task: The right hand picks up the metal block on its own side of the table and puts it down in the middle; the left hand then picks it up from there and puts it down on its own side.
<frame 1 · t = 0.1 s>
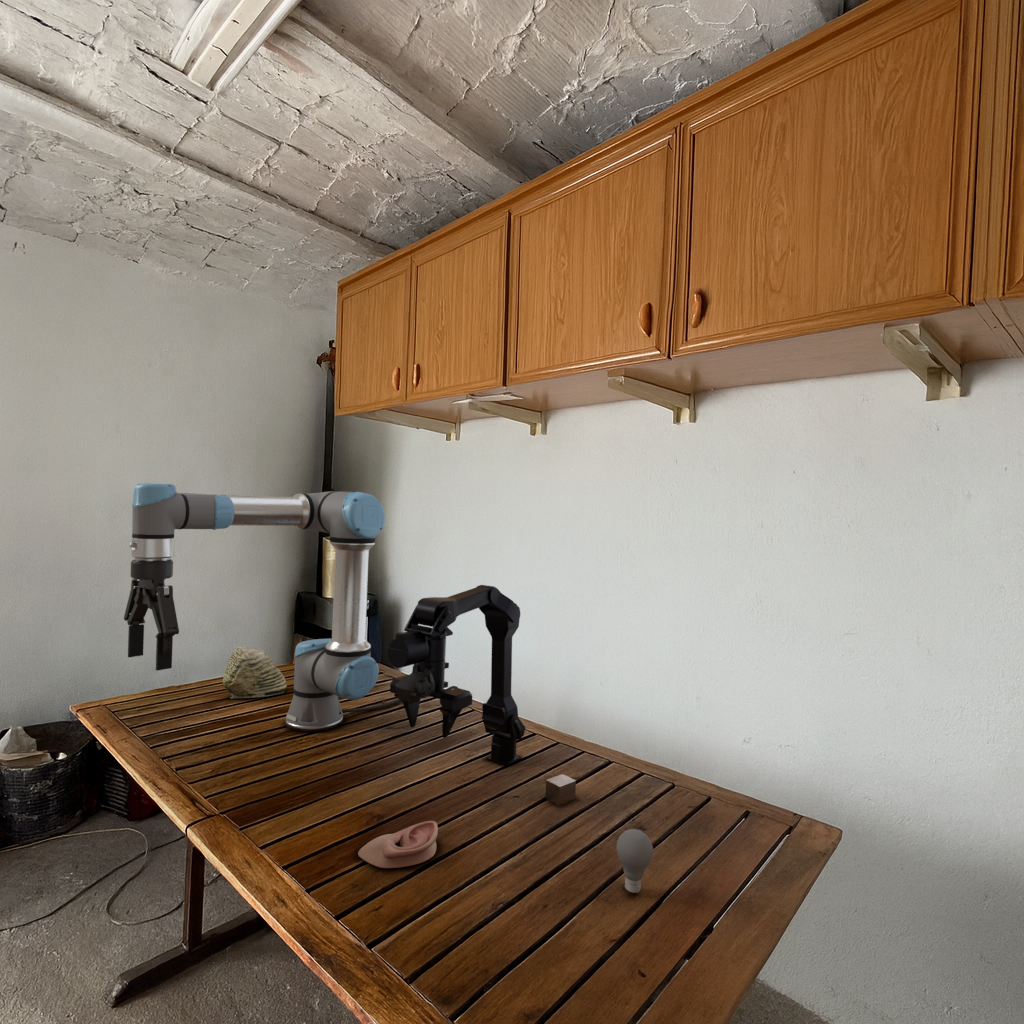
left hand: (149, 662, 129), 28 cm above the table, tool pointing down, fingers open, 13 cm apart
right hand: (428, 732, 134), 15 cm above the table, tool pointing down, fingers open, 9 cm apart
block: (560, 798, 138), on the table
anatomical model: (398, 852, 114), on the table
fossil: (254, 694, 198), on the table
light bulb: (632, 891, 106), on the table
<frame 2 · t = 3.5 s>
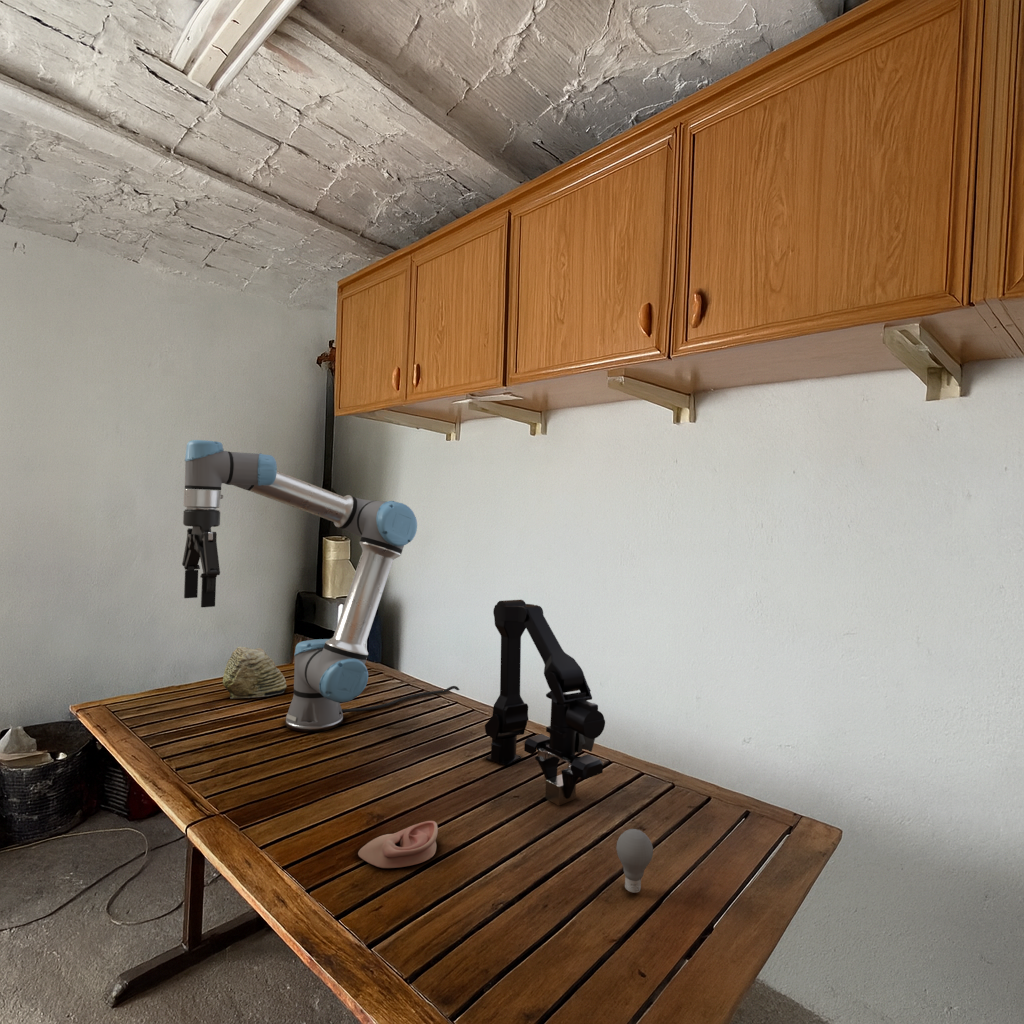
left hand: (199, 602, 144), 38 cm above the table, tool pointing down, fingers open, 13 cm apart
right hand: (560, 794, 138), 1 cm above the table, tool pointing down, fingers closed on block, 4 cm apart
block: (560, 798, 138), on the table, touching right hand
everything else where it was.
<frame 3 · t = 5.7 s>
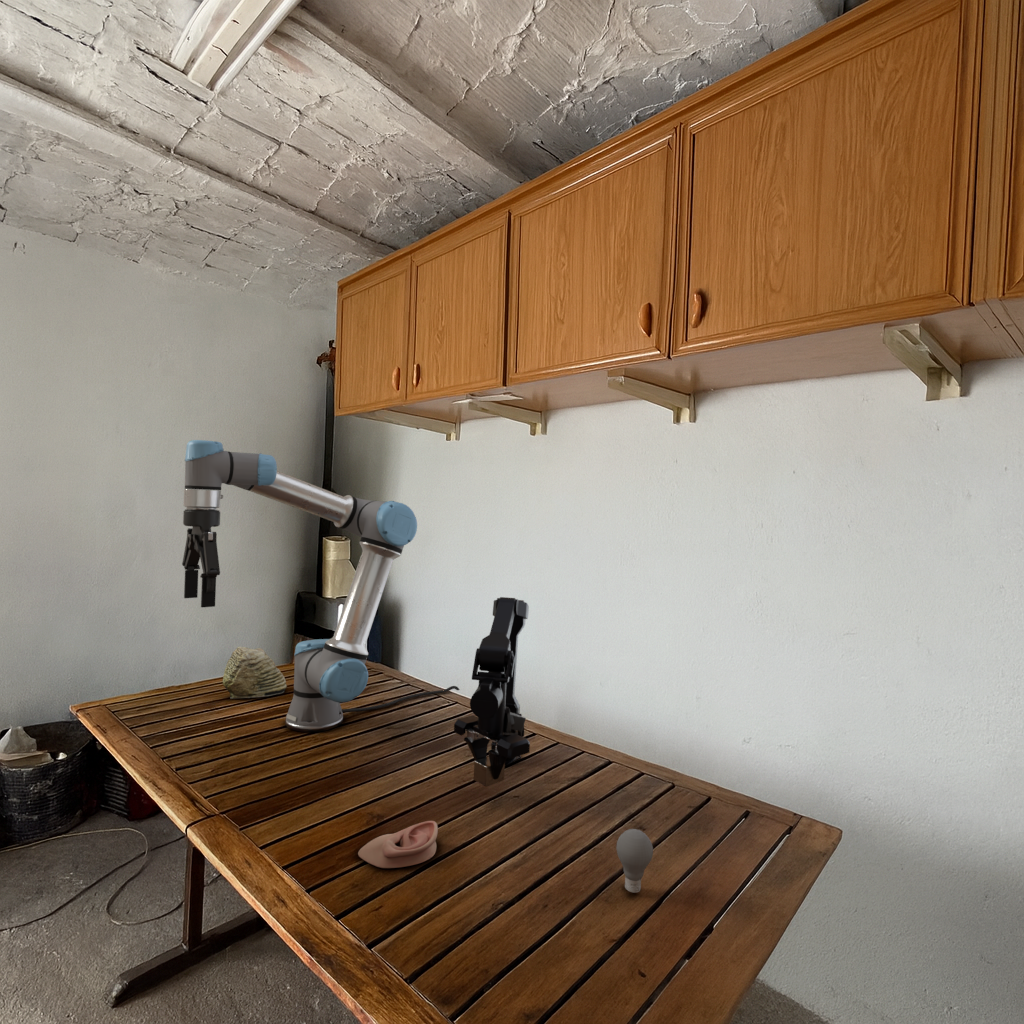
left hand: (199, 602, 144), 38 cm above the table, tool pointing down, fingers open, 13 cm apart
right hand: (489, 775, 135), 5 cm above the table, tool pointing down, fingers closed on block, 4 cm apart
block: (488, 780, 136), point 4 cm above the table, touching right hand
everything else where it was.
when the right hand's fingers open (2 cm above the table, at t = 7.8 s): block stays where it is, on the table.
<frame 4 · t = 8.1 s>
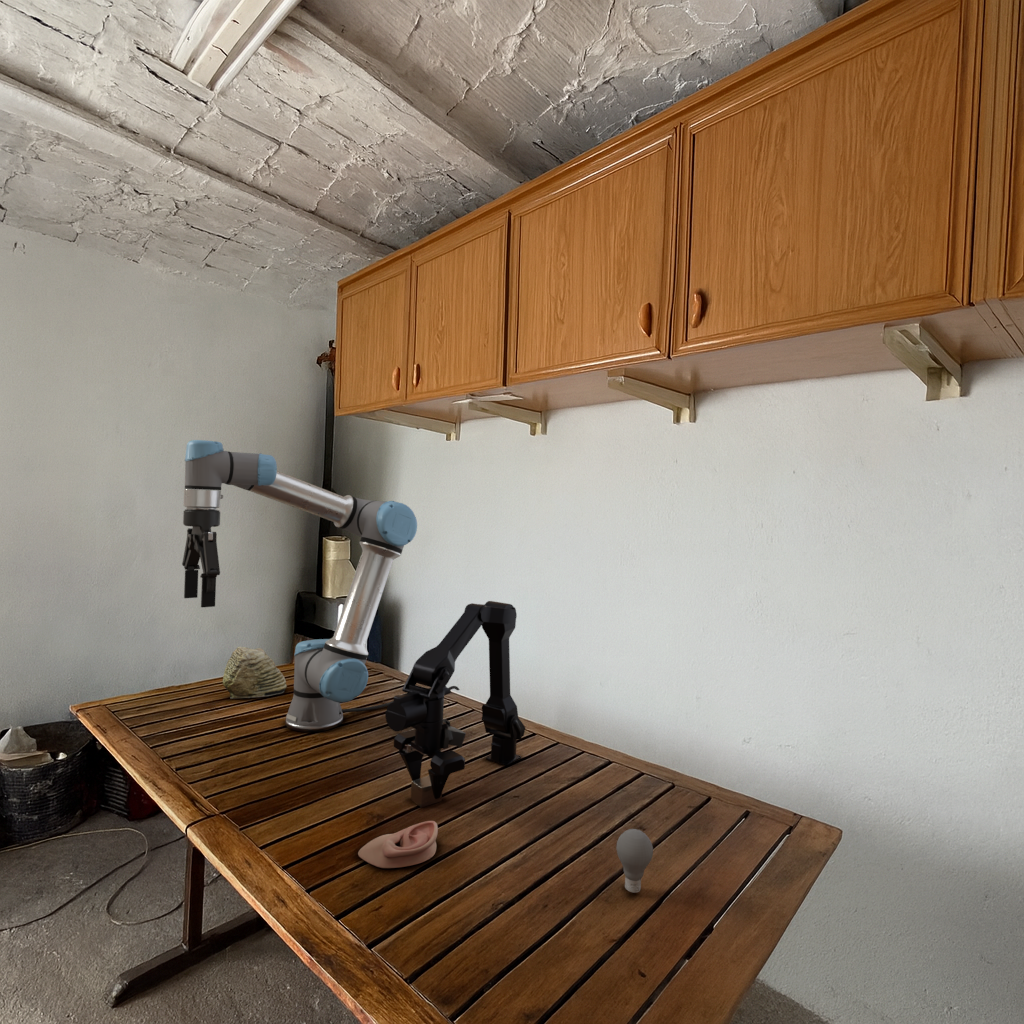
left hand: (199, 602, 144), 38 cm above the table, tool pointing down, fingers open, 13 cm apart
right hand: (426, 791, 134), 2 cm above the table, tool pointing down, fingers open, 8 cm apart
block: (426, 800, 134), on the table
everything else where it was.
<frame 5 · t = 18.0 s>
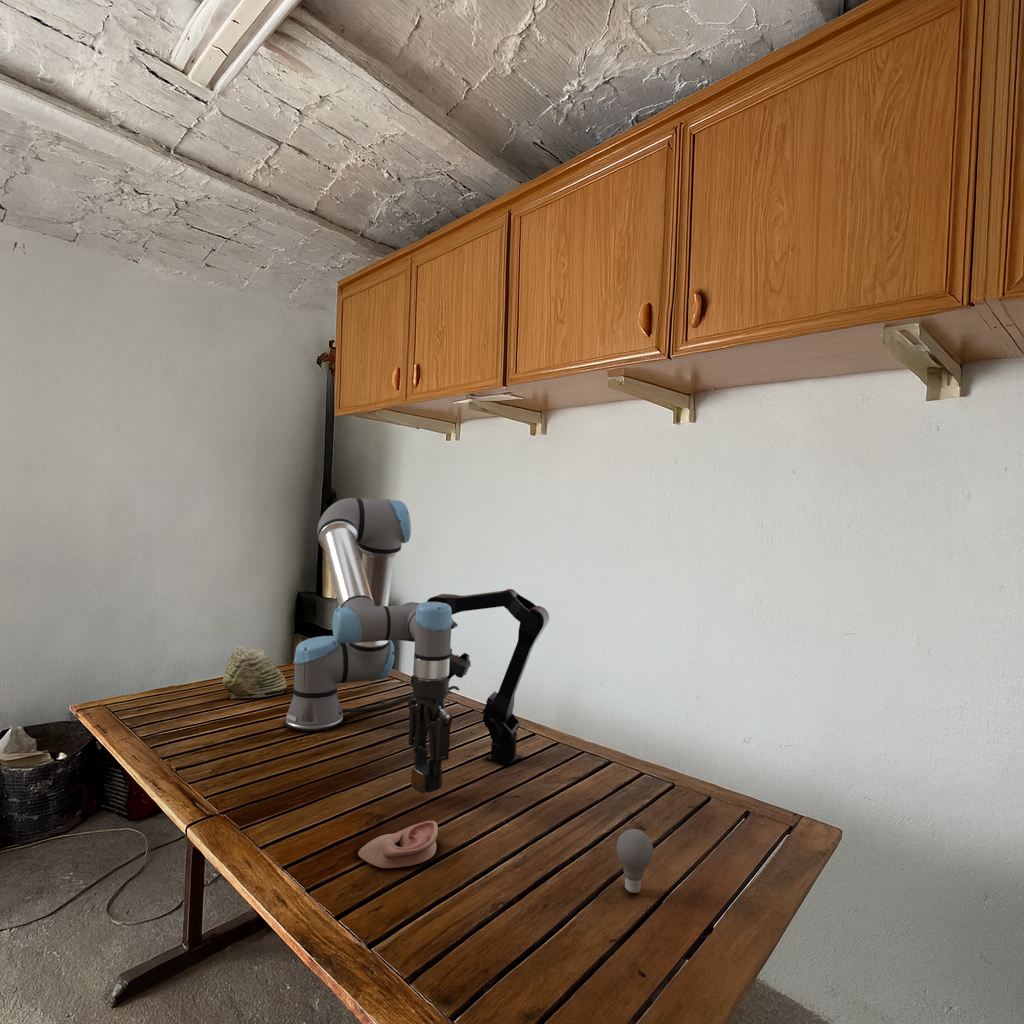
left hand: (426, 785, 134), 3 cm above the table, tool pointing down, fingers closed on block, 4 cm apart
right hand: (435, 704, 162), 11 cm above the table, tool pointing down, fingers open, 9 cm apart
block: (426, 787, 134), point 3 cm above the table, touching left hand
everything else where it was.
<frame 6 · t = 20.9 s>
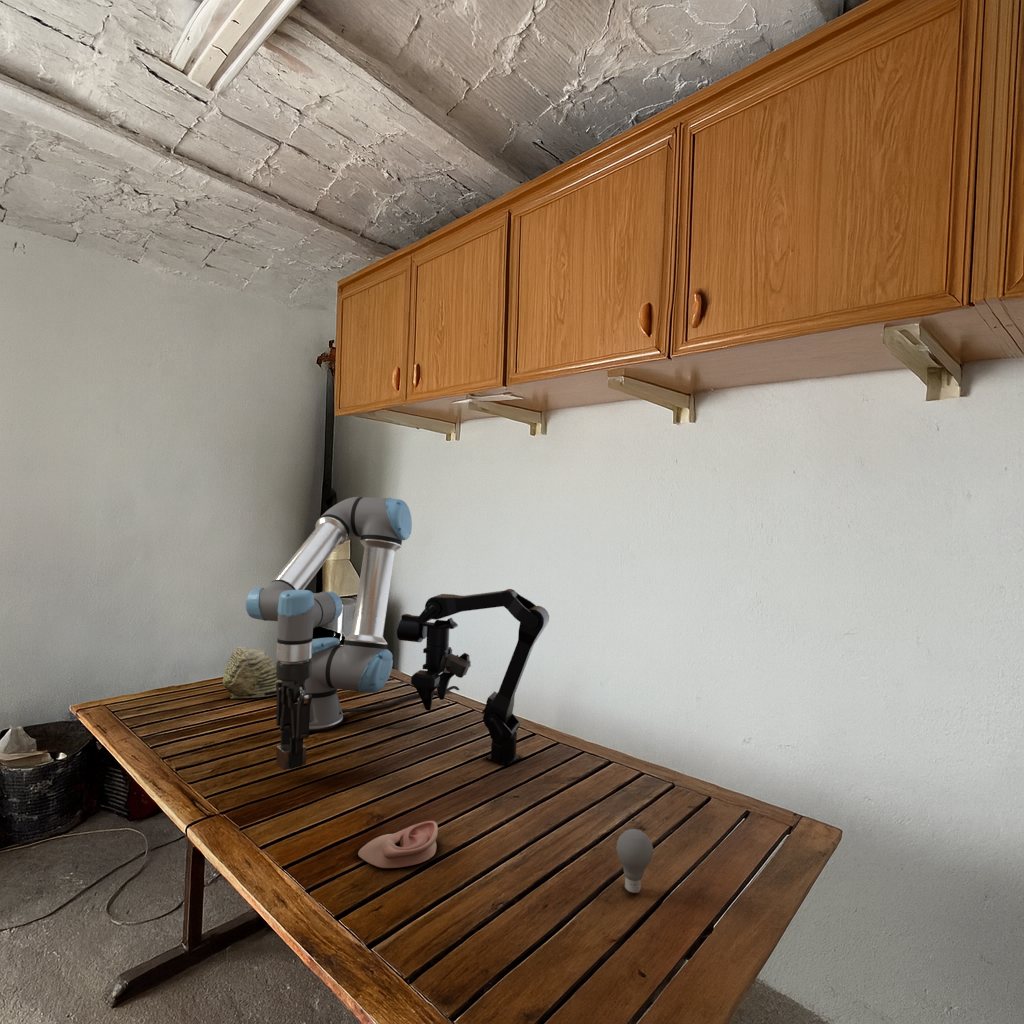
left hand: (291, 763, 142), 3 cm above the table, tool pointing down, fingers closed on block, 4 cm apart
right hand: (435, 704, 162), 11 cm above the table, tool pointing down, fingers open, 9 cm apart
block: (291, 764, 142), point 3 cm above the table, touching left hand
everything else where it was.
when the left hand's fingers open (0 cm above the table, at t = 24.0 s): block stays where it is, on the table.
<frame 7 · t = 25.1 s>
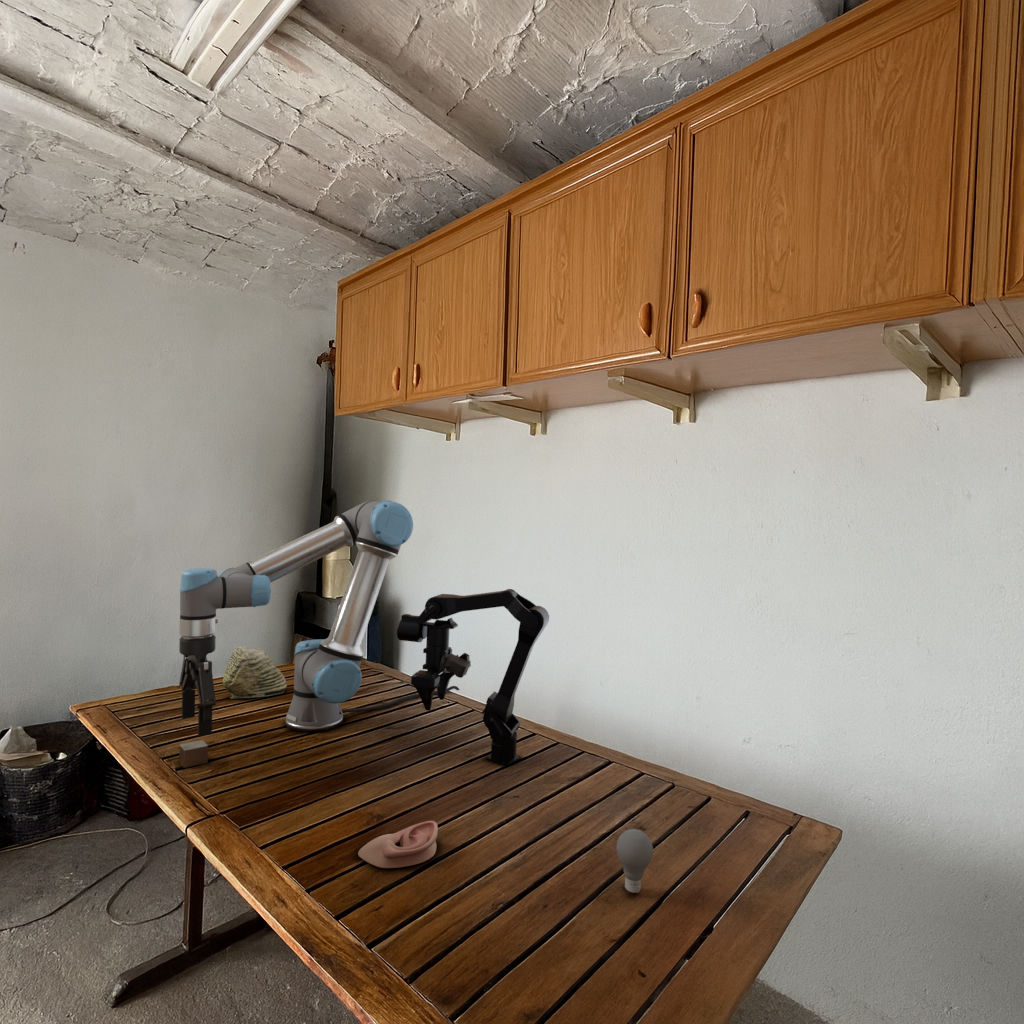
left hand: (196, 726, 148), 9 cm above the table, tool pointing down, fingers open, 13 cm apart
right hand: (435, 704, 162), 11 cm above the table, tool pointing down, fingers open, 9 cm apart
block: (193, 762, 148), on the table
everything else where it was.
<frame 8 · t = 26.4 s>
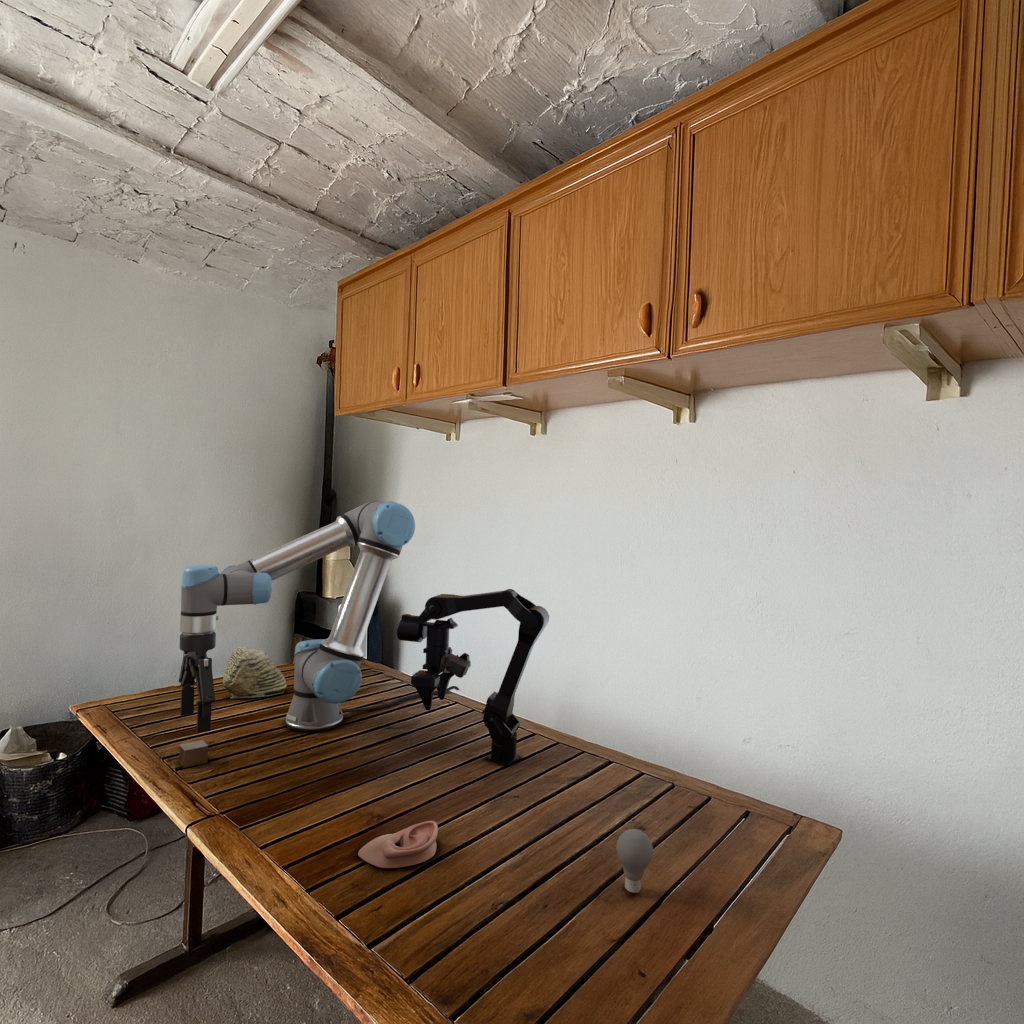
left hand: (195, 722, 148), 9 cm above the table, tool pointing down, fingers open, 13 cm apart
right hand: (435, 704, 162), 11 cm above the table, tool pointing down, fingers open, 9 cm apart
nothing on the table moved.
at the end: block inside the target area (0.1 cm from its centre), on the table; block tilted 0°; the two hands never held the block at the same time; the left hand is holding nothing; the right hand is holding nothing; block at rest at the end (0.0 cm/s) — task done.
